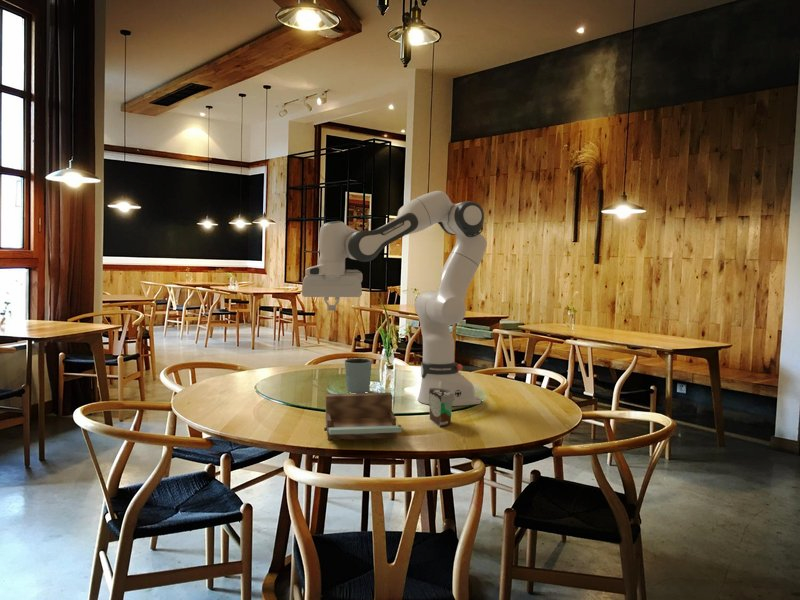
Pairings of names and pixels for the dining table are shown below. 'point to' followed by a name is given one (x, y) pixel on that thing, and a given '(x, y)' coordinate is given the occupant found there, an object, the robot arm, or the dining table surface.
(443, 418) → the food container
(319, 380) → the dining table surface
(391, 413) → the brown open box
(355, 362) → the gray cup
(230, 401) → the dining table surface
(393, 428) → the panel
